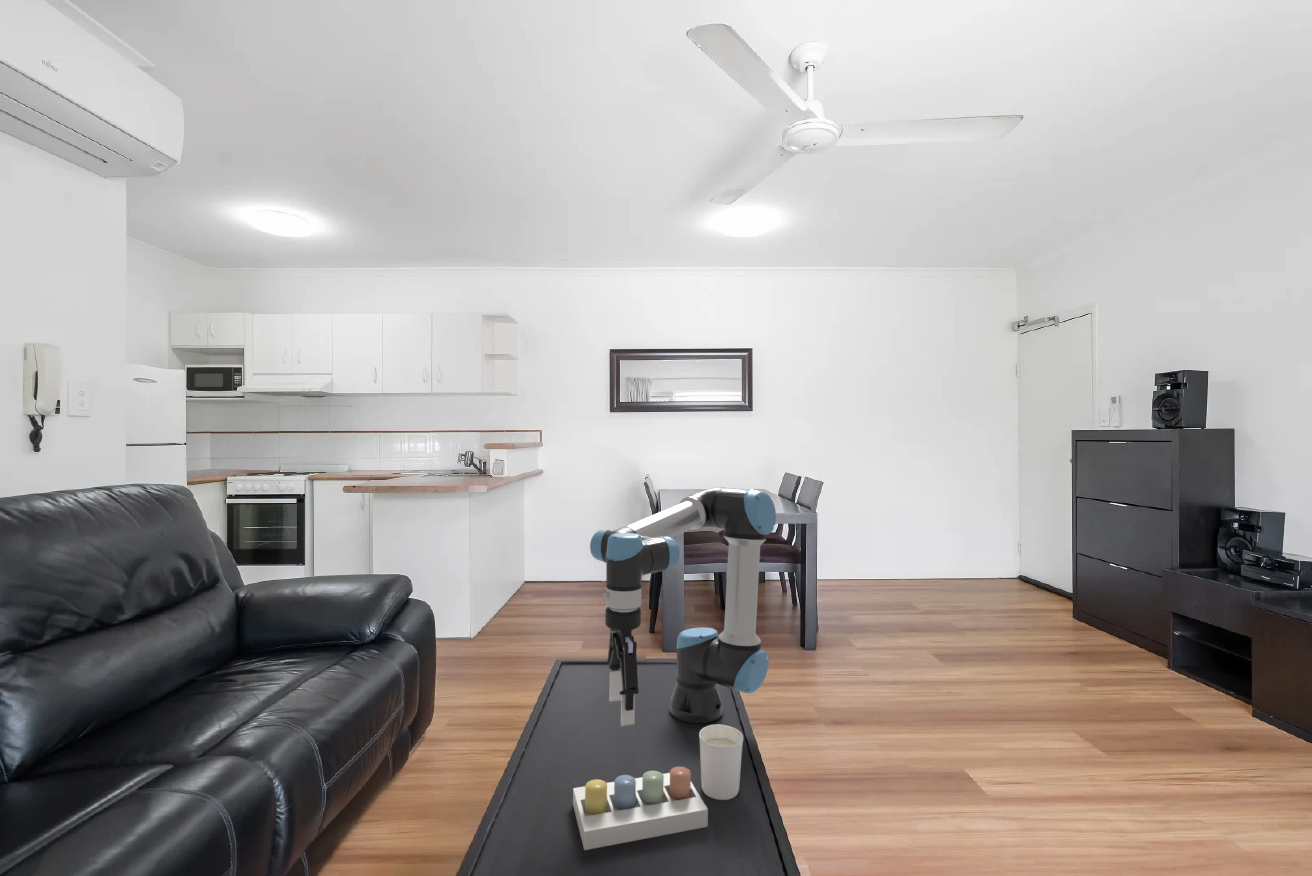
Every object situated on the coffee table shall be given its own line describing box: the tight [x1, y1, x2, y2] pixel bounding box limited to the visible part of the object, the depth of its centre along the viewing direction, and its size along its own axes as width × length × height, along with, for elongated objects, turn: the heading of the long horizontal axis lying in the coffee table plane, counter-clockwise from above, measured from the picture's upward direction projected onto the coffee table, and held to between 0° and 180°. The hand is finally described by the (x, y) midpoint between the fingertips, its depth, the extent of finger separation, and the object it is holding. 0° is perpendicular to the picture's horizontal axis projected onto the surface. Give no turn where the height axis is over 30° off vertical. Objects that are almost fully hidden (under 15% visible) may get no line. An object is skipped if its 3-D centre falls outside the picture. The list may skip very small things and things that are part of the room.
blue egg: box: [613, 774, 636, 810], centre depth 117 cm, size 4×4×4 cm
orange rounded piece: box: [669, 766, 692, 800], centre depth 120 cm, size 4×4×4 cm
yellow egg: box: [585, 778, 608, 815], centre depth 115 cm, size 4×4×4 cm
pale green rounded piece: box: [642, 770, 664, 805], centre depth 119 cm, size 4×4×4 cm
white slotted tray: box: [572, 772, 709, 851], centre depth 118 cm, size 25×14×4 cm, turn 107°
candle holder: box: [698, 723, 744, 801], centre depth 127 cm, size 10×10×12 cm
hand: (621, 711), depth 121 cm, fingers open, 10 cm apart
